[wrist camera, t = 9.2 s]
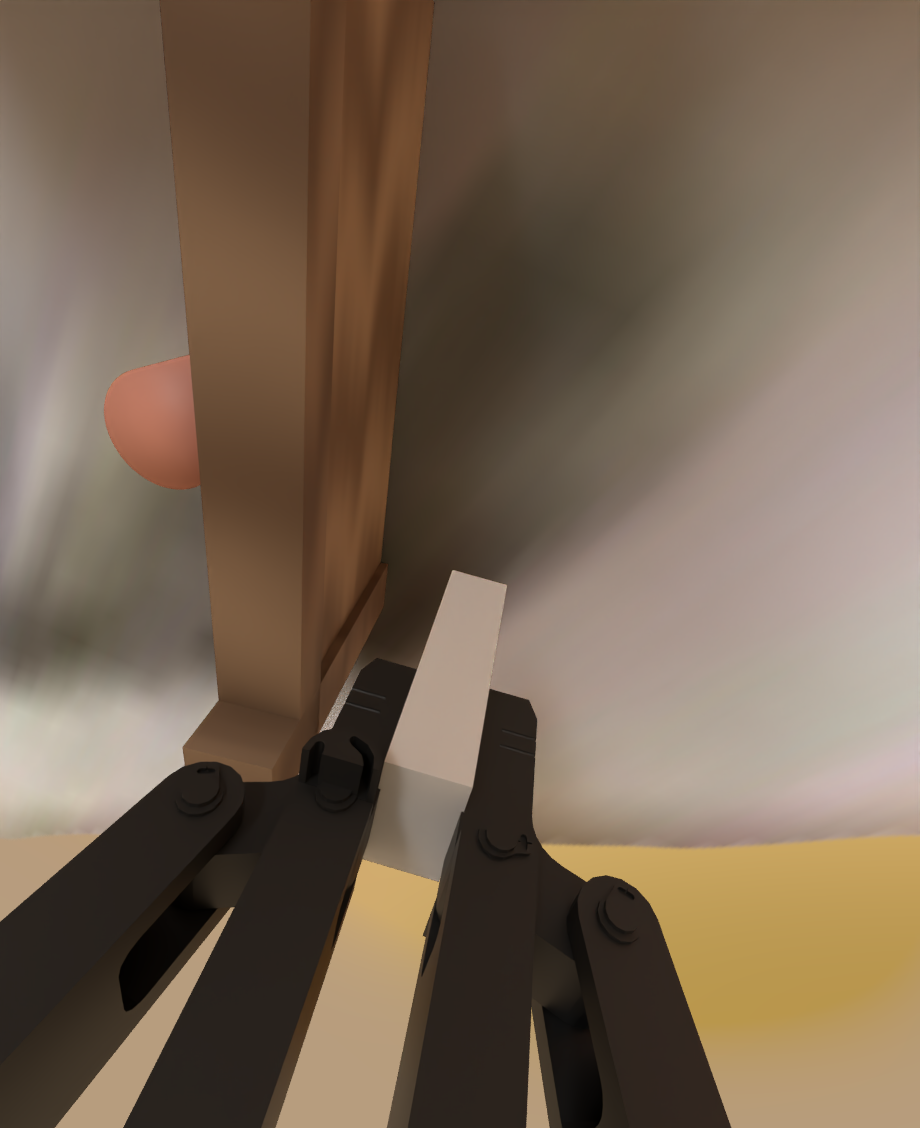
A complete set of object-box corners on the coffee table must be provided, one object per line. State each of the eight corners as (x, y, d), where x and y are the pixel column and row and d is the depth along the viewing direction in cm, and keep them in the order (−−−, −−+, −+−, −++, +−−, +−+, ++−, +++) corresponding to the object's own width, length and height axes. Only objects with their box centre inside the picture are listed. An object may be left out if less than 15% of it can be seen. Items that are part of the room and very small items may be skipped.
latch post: (235, 396, 20) (97, 456, 14) (255, 316, 19) (111, 344, 13) (311, 434, 21) (206, 509, 15) (336, 358, 19) (232, 405, 13)
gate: (359, -9, 14) (18, -455, 5) (446, 5, 14) (246, -429, 5) (331, 594, 23) (190, 802, 14) (383, 606, 23) (273, 822, 14)
